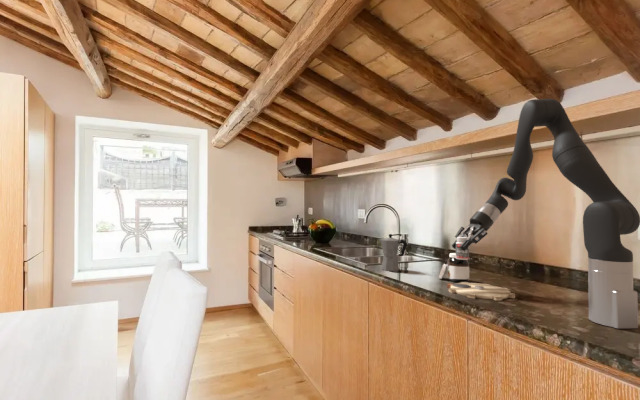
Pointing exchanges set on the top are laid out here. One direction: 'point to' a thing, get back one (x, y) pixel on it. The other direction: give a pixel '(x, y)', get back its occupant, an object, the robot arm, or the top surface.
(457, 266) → the spread jar
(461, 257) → the pill bottle
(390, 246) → the coffeepot
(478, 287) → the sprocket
